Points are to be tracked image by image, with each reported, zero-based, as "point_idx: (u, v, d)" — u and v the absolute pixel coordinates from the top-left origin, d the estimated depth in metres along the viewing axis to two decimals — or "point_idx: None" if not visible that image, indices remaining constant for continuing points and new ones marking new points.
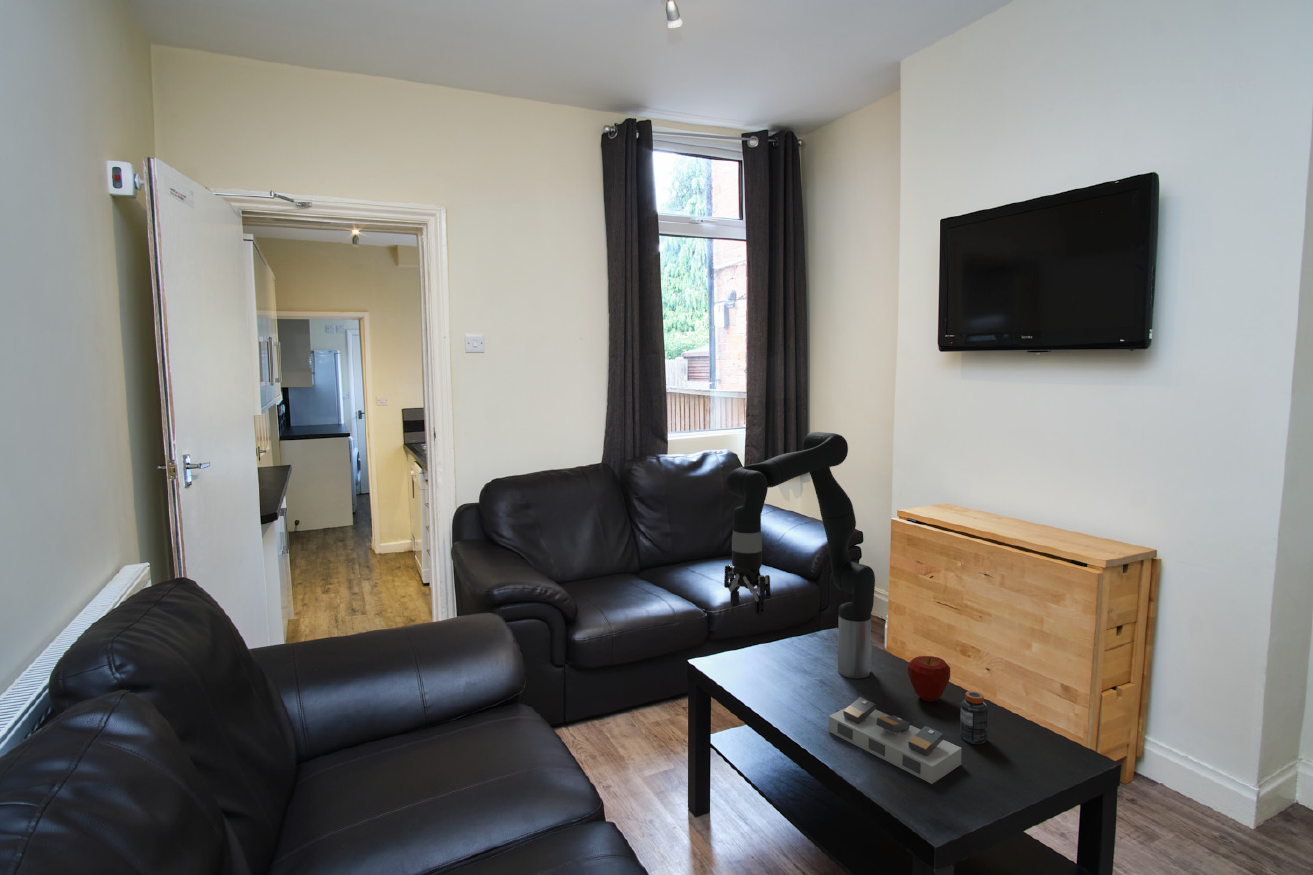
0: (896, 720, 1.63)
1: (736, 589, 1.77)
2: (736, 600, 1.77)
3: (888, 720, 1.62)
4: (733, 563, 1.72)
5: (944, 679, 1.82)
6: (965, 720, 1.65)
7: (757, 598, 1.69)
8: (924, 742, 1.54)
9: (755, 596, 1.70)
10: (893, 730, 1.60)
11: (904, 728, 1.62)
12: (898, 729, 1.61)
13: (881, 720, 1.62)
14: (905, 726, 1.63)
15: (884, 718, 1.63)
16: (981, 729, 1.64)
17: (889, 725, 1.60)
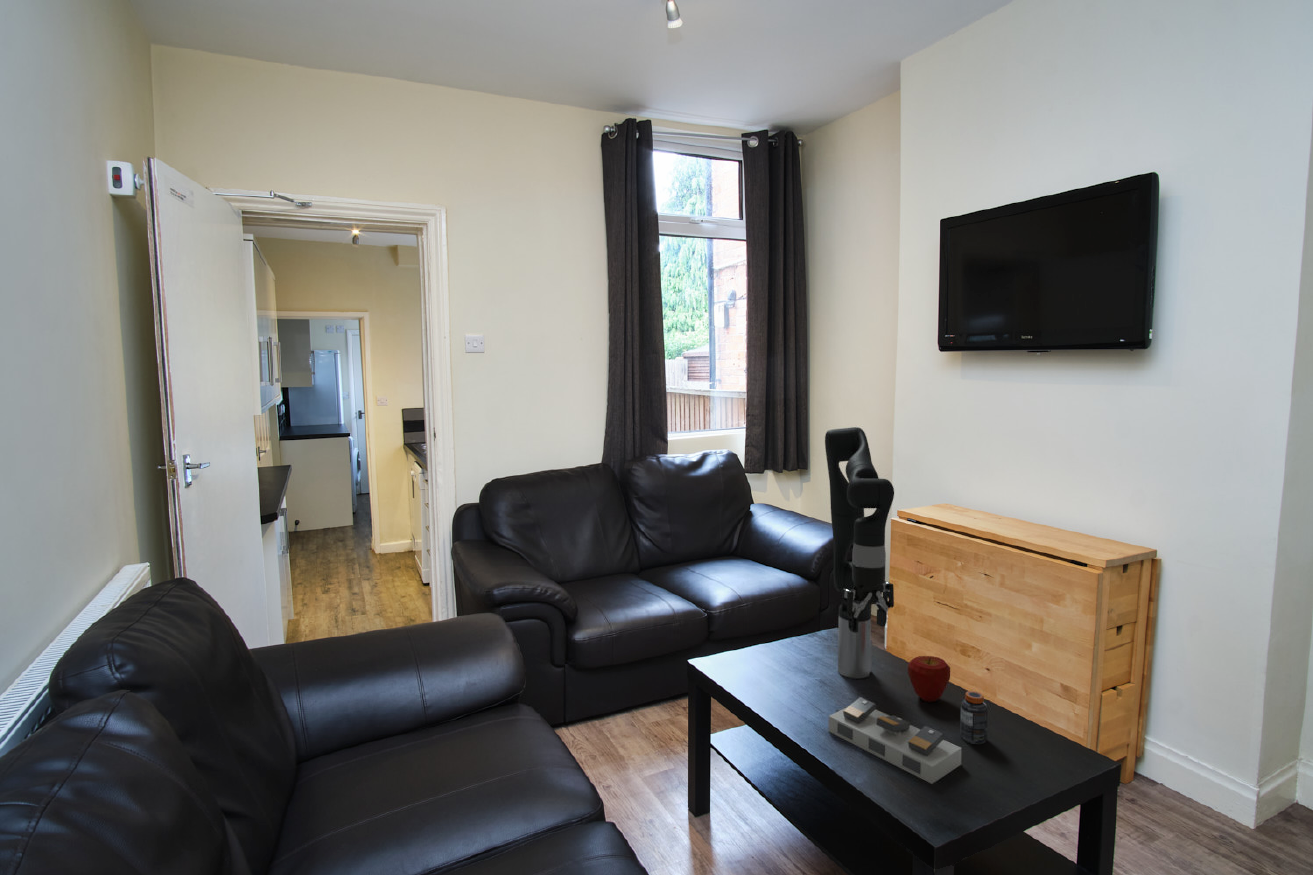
0: (896, 720, 1.63)
1: None
2: None
3: (888, 720, 1.62)
4: (875, 581, 1.58)
5: (944, 679, 1.82)
6: (965, 720, 1.65)
7: (887, 608, 1.64)
8: (924, 742, 1.54)
9: (884, 607, 1.63)
10: (893, 730, 1.60)
11: (904, 728, 1.62)
12: (898, 729, 1.61)
13: (881, 720, 1.62)
14: (905, 726, 1.63)
15: (884, 718, 1.63)
16: (981, 729, 1.64)
17: (889, 725, 1.60)
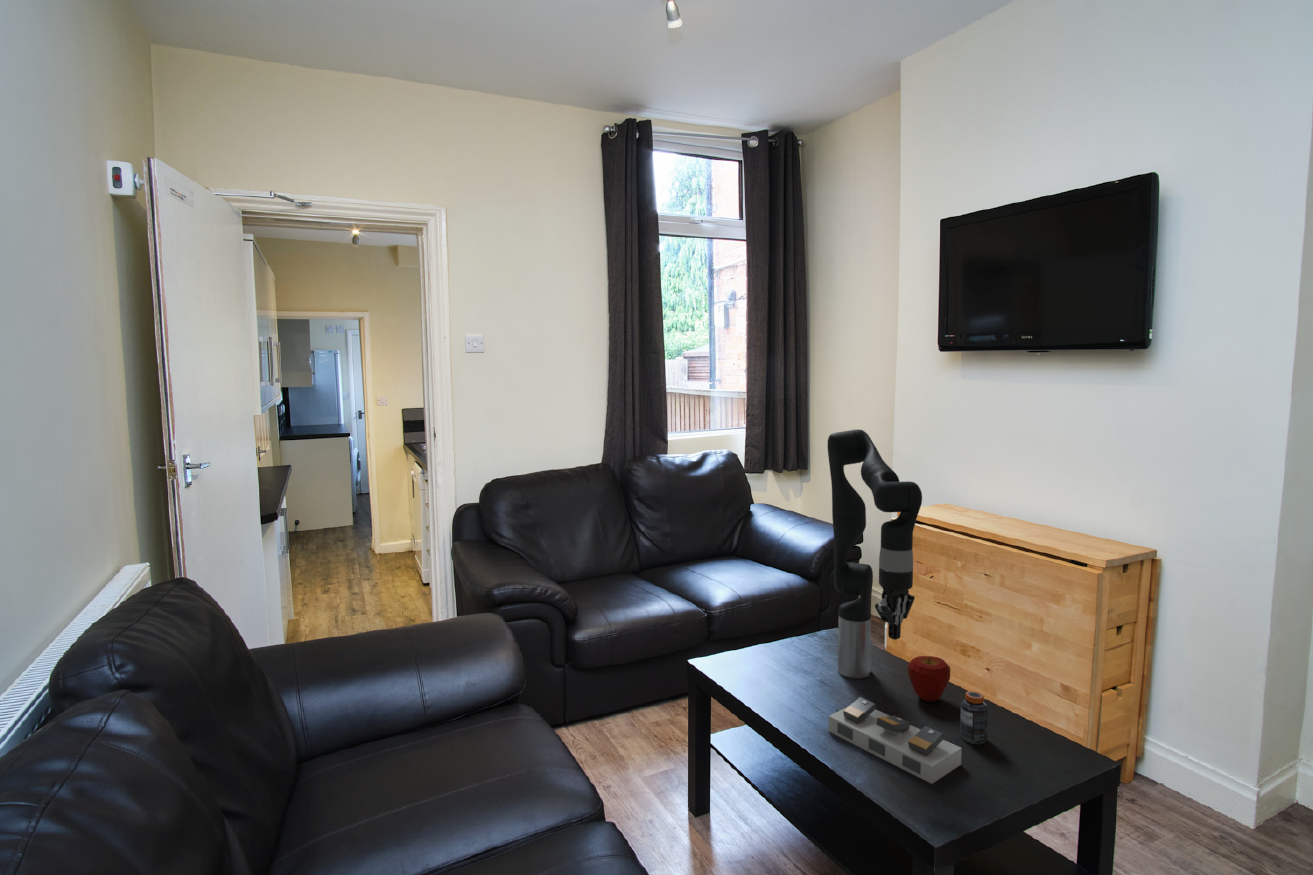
0: (896, 720, 1.63)
1: None
2: None
3: (888, 720, 1.62)
4: (906, 586, 1.56)
5: (944, 679, 1.82)
6: (965, 720, 1.65)
7: (902, 619, 1.60)
8: (924, 742, 1.54)
9: (901, 617, 1.60)
10: (893, 730, 1.60)
11: (904, 728, 1.62)
12: (898, 729, 1.61)
13: (881, 720, 1.62)
14: (905, 726, 1.63)
15: (884, 718, 1.63)
16: (981, 729, 1.64)
17: (889, 725, 1.60)
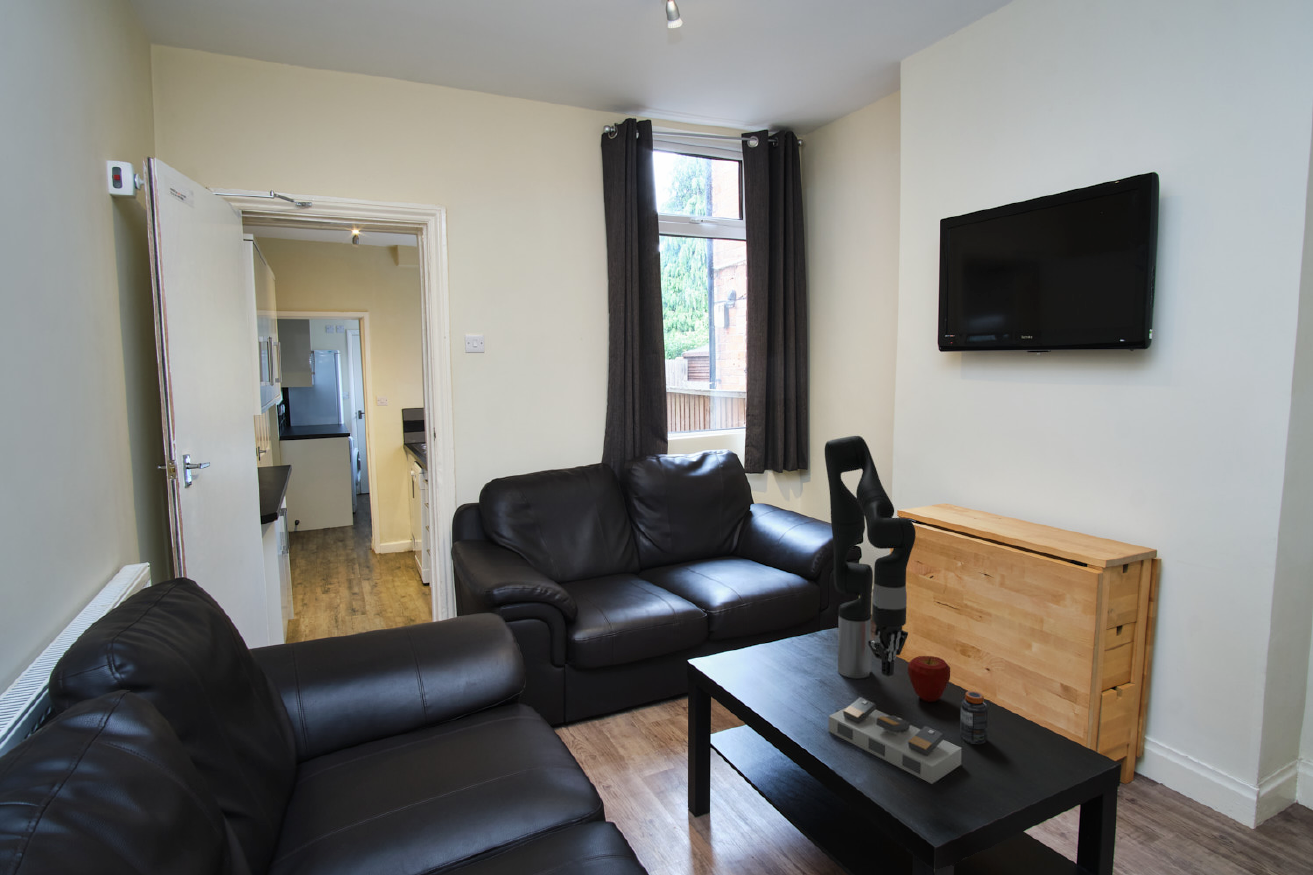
0: (896, 720, 1.63)
1: None
2: None
3: (888, 720, 1.62)
4: (899, 623, 1.56)
5: (944, 679, 1.82)
6: (965, 720, 1.65)
7: (895, 656, 1.60)
8: (924, 742, 1.54)
9: (894, 654, 1.59)
10: (893, 730, 1.60)
11: (904, 728, 1.62)
12: (898, 729, 1.61)
13: (881, 720, 1.62)
14: (905, 726, 1.63)
15: (884, 718, 1.63)
16: (981, 729, 1.64)
17: (889, 725, 1.60)
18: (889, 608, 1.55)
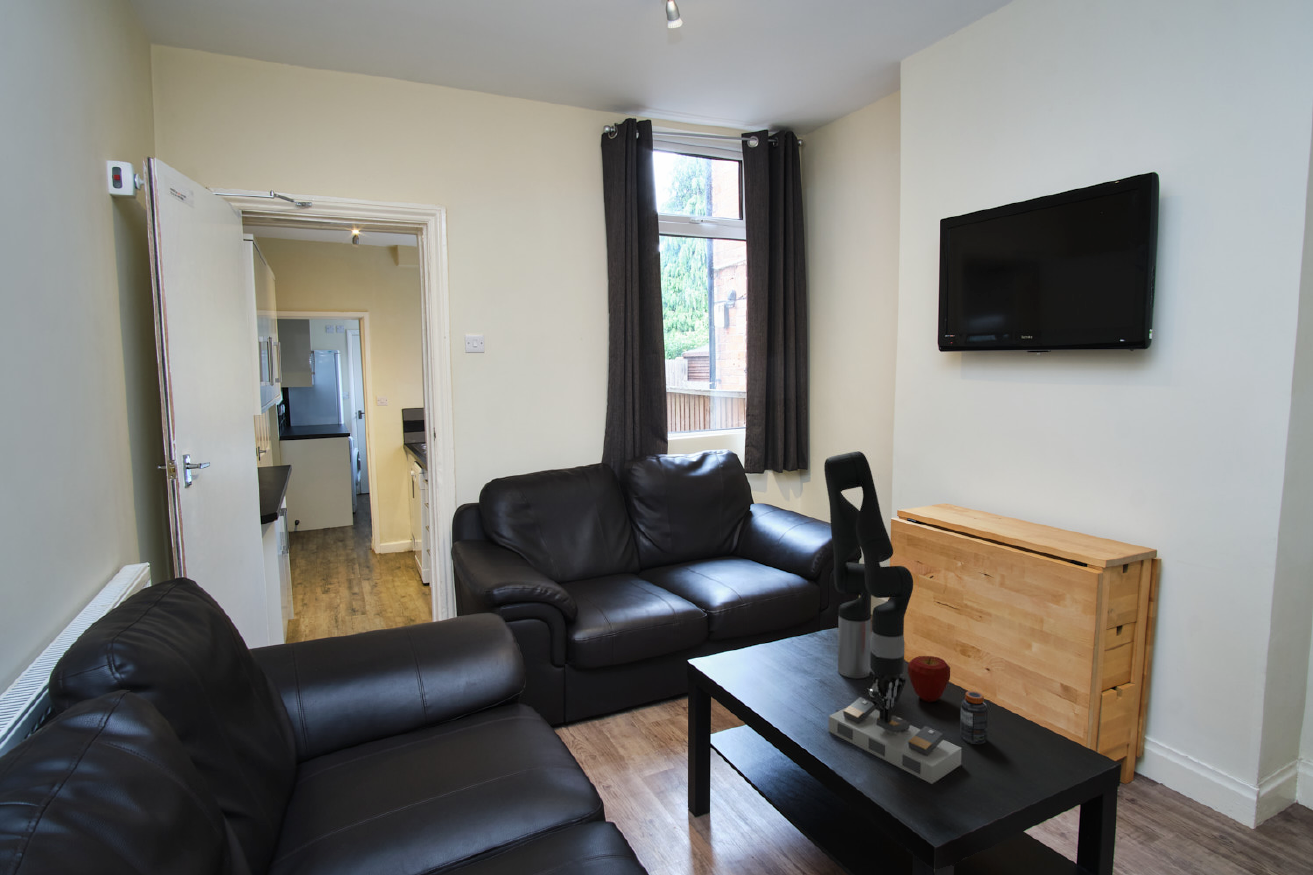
0: (896, 720, 1.63)
1: None
2: None
3: None
4: (897, 672, 1.56)
5: (944, 679, 1.82)
6: (965, 720, 1.65)
7: (893, 703, 1.60)
8: (924, 742, 1.54)
9: (892, 701, 1.60)
10: (893, 730, 1.60)
11: (904, 728, 1.62)
12: (898, 729, 1.61)
13: None
14: (905, 726, 1.63)
15: None
16: (981, 729, 1.64)
17: (888, 725, 1.60)
18: (887, 657, 1.56)
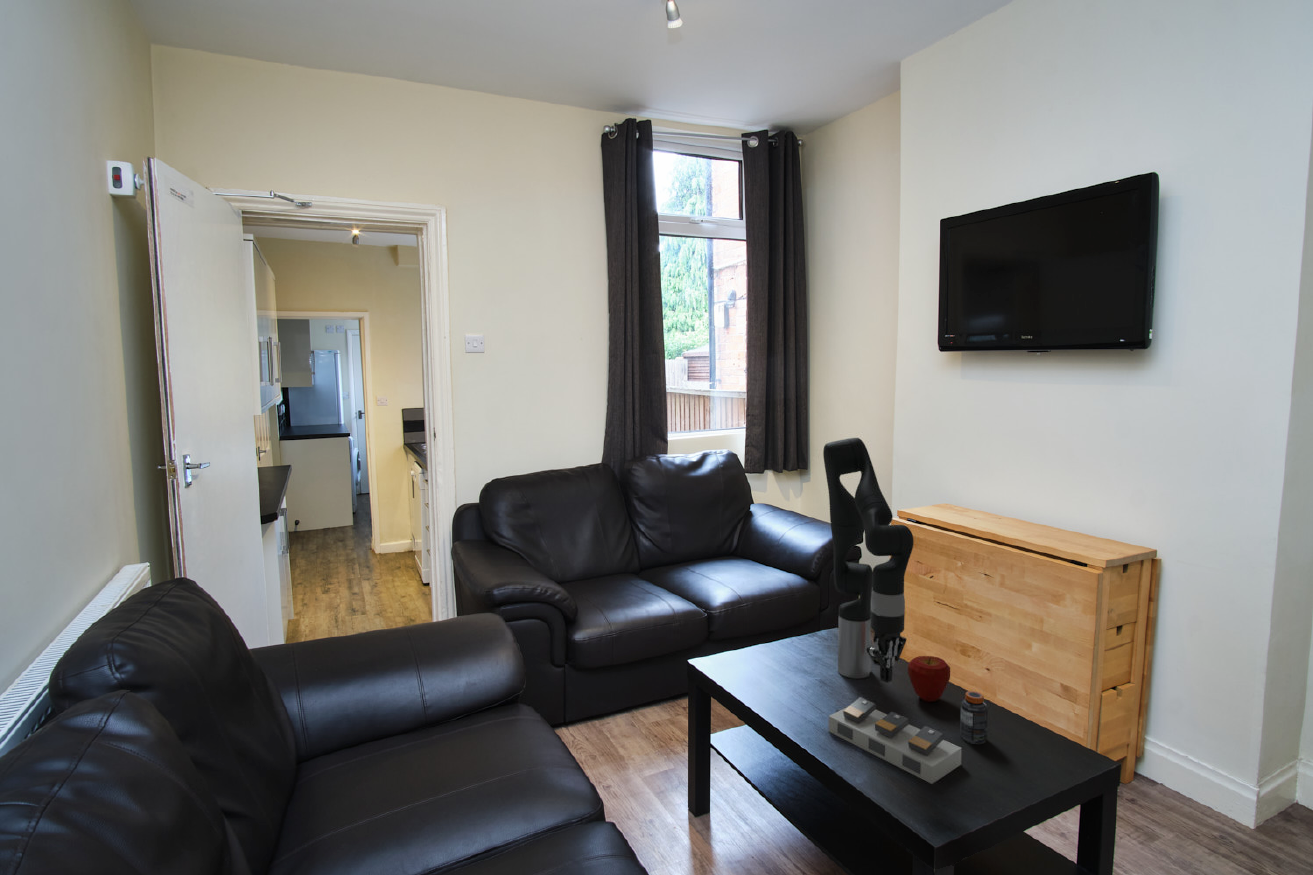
0: (894, 720, 1.63)
1: None
2: None
3: (885, 725, 1.61)
4: (897, 630, 1.56)
5: (944, 679, 1.82)
6: (965, 720, 1.65)
7: (893, 662, 1.60)
8: (924, 742, 1.54)
9: (892, 660, 1.60)
10: (892, 735, 1.59)
11: (903, 726, 1.62)
12: (897, 731, 1.60)
13: (879, 726, 1.61)
14: (904, 724, 1.62)
15: (881, 722, 1.62)
16: (981, 729, 1.64)
17: (886, 731, 1.60)
18: (887, 615, 1.56)
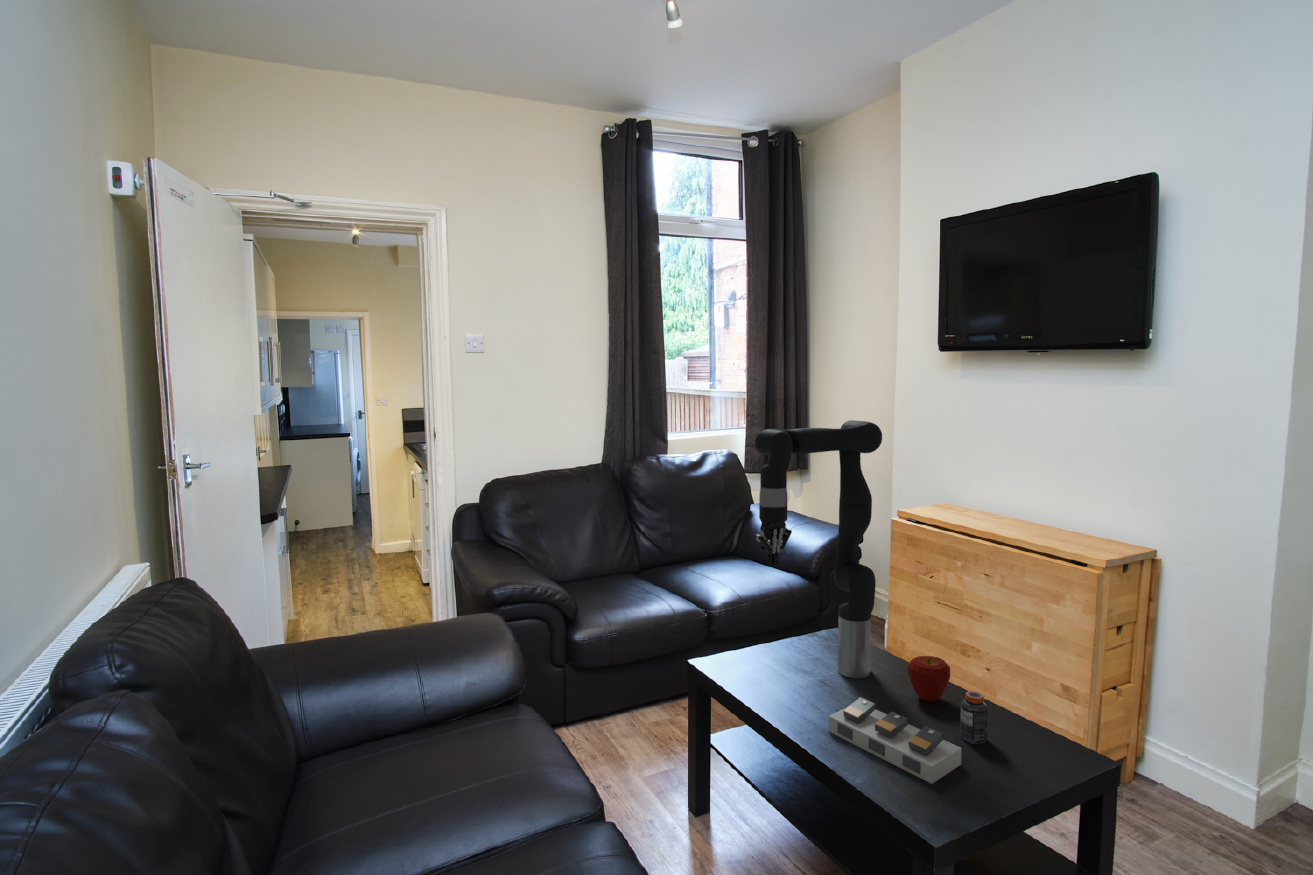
0: (894, 720, 1.63)
1: None
2: None
3: (885, 725, 1.61)
4: (780, 519, 1.82)
5: (944, 679, 1.82)
6: (965, 720, 1.65)
7: (779, 549, 1.86)
8: (924, 742, 1.54)
9: (778, 548, 1.86)
10: (892, 735, 1.59)
11: (903, 726, 1.62)
12: (897, 731, 1.60)
13: (878, 726, 1.61)
14: (904, 724, 1.62)
15: (881, 723, 1.62)
16: (981, 729, 1.64)
17: (886, 731, 1.60)
18: (771, 506, 1.81)
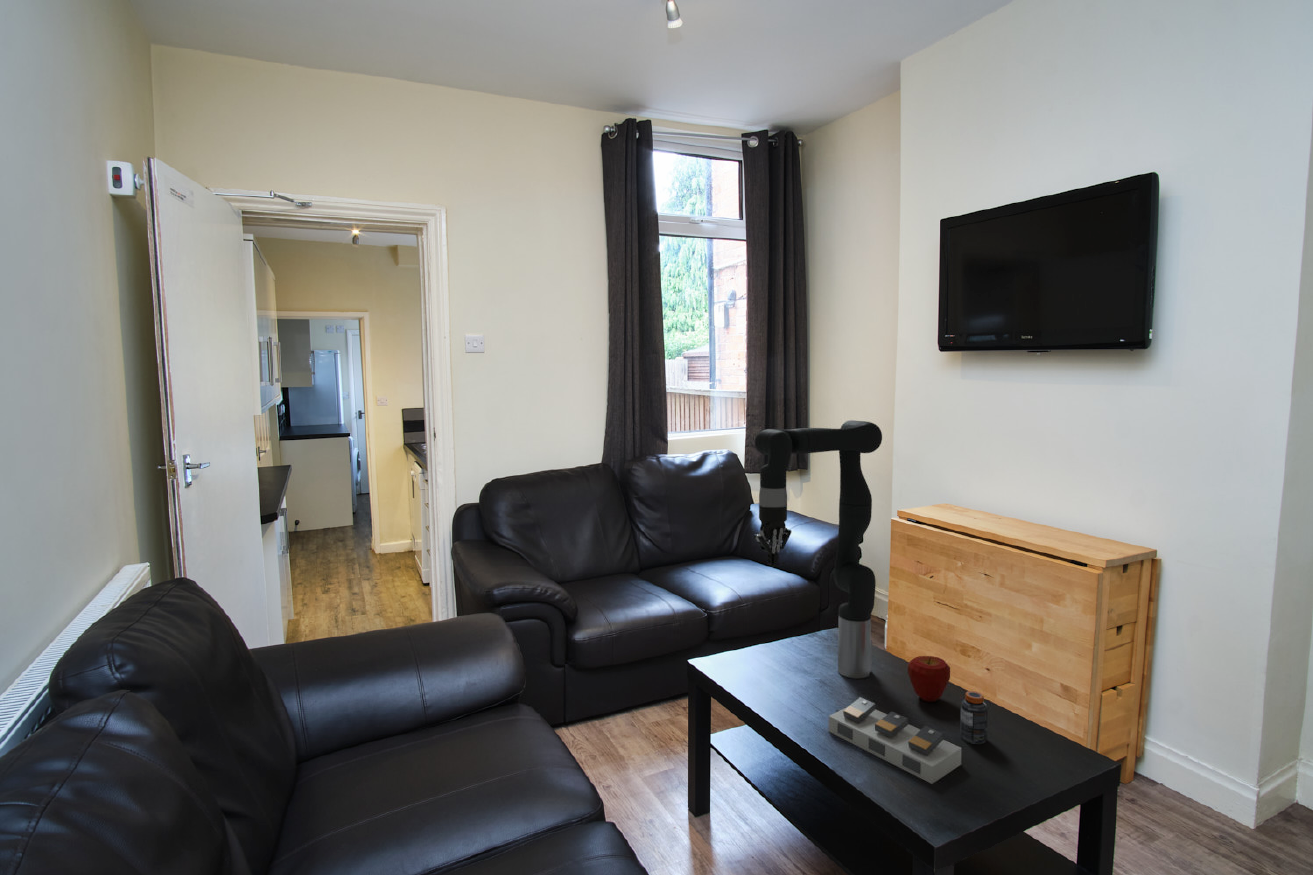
0: (894, 720, 1.63)
1: None
2: None
3: (885, 725, 1.61)
4: (779, 519, 1.82)
5: (944, 679, 1.82)
6: (965, 720, 1.65)
7: (778, 549, 1.86)
8: (924, 742, 1.54)
9: (778, 547, 1.86)
10: (891, 735, 1.59)
11: (903, 726, 1.62)
12: (897, 731, 1.60)
13: (878, 726, 1.61)
14: (904, 724, 1.62)
15: (881, 723, 1.62)
16: (981, 729, 1.64)
17: (886, 731, 1.60)
18: (770, 506, 1.82)
